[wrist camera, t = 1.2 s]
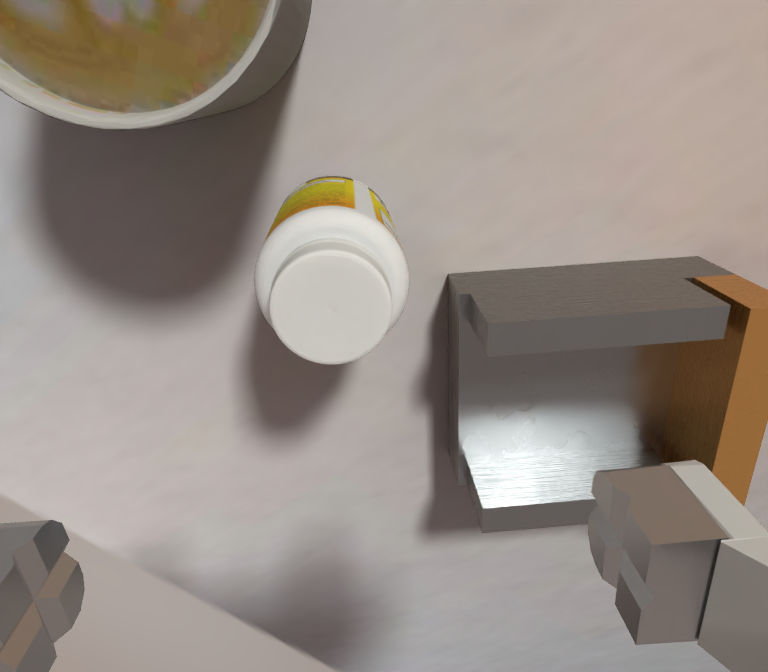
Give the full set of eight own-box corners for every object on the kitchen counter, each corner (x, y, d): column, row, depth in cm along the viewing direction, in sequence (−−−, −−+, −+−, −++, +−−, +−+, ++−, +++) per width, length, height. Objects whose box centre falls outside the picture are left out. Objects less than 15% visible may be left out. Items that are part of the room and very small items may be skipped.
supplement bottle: (255, 249, 27) (209, 336, 18) (314, 149, 25) (297, 186, 16) (353, 306, 29) (358, 413, 19) (414, 214, 27) (452, 284, 18)
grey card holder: (448, 452, 33) (474, 541, 26) (448, 273, 28) (478, 329, 22) (664, 434, 33) (740, 517, 27) (698, 256, 29) (799, 305, 22)
